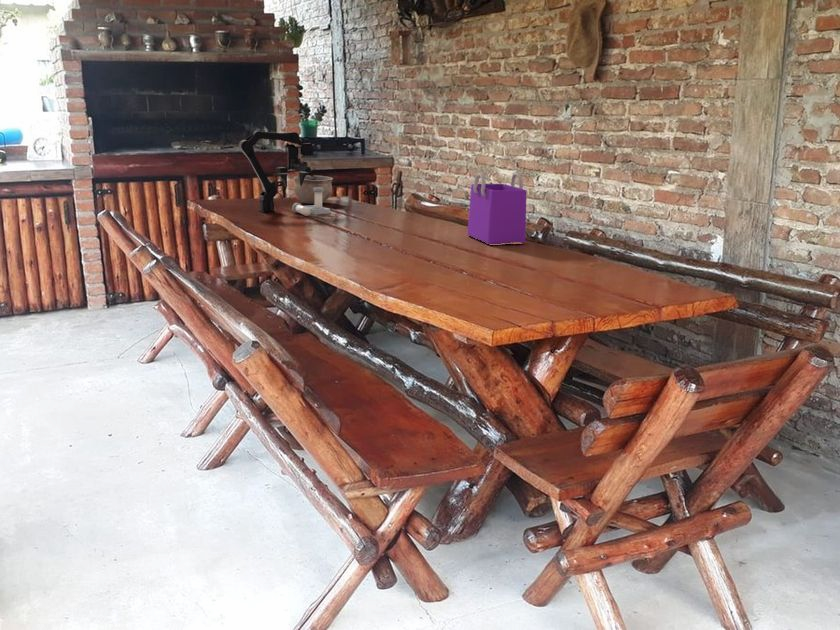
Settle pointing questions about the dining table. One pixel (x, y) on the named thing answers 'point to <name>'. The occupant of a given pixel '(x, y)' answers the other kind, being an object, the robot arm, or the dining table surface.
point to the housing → (318, 210)
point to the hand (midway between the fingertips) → (293, 186)
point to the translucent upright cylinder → (318, 197)
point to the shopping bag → (497, 211)
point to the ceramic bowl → (309, 183)
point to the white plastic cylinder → (300, 209)
